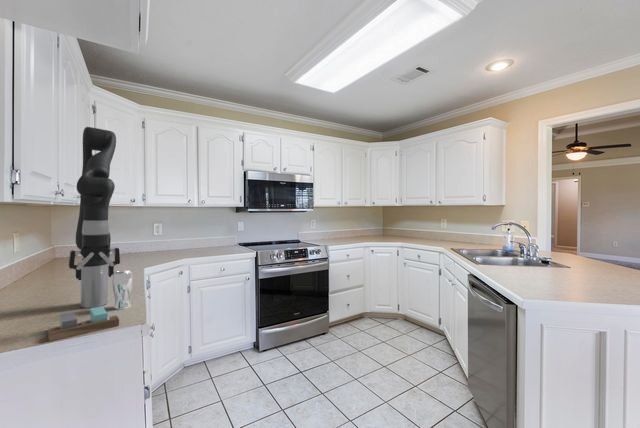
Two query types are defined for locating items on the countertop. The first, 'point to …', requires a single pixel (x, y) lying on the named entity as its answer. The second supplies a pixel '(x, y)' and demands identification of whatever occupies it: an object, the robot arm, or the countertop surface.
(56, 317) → the countertop surface
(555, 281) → the countertop surface
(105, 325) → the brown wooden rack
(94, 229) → the robot arm
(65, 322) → the charcoal plug
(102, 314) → the teal plug
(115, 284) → the beer glass
